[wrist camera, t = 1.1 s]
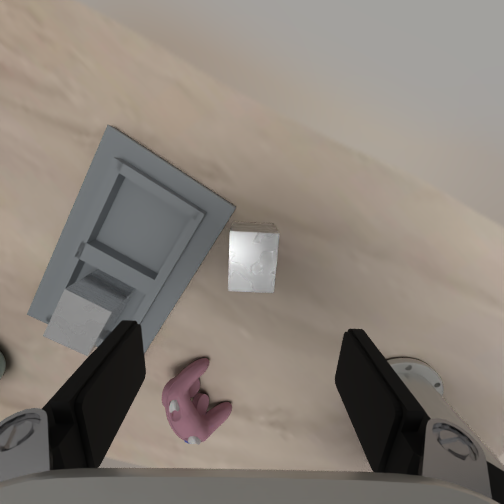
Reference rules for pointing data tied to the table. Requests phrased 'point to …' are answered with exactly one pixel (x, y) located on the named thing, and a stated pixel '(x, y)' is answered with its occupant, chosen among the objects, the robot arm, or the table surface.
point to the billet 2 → (252, 257)
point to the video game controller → (192, 405)
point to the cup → (2, 365)
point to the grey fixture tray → (134, 232)
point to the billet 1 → (88, 311)
